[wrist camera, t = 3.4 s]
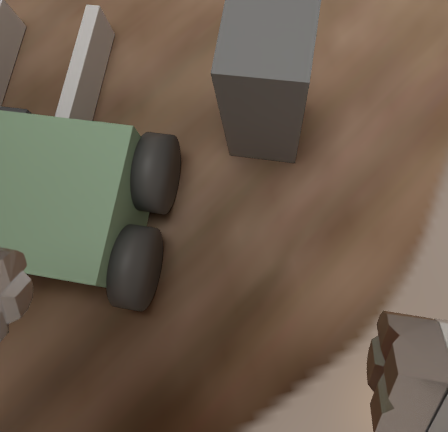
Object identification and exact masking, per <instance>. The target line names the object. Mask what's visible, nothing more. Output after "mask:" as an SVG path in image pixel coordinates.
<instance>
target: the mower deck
mask: <svg viewBox="0 0 448 432" xmlns="http://www.w3.org/2000/svg"><path fill="white" fill-rule="evenodd" d="M25 29H26V25H25V24H24V23H23V22H22V21H21V19H20V18H19V17H18V16H17V15H16V13H15V12H14V11H13V10H12V9H11V7H10V6H9V5H8V4H7V3H6V1H5V0H0V247H2V248H8V249H13V250H18V251H20V252H22V253H24V256H25V259H26V262H27V266H26V268H25V269H24V272H25V273H26V274H31V275H37V276H43V277H48V278H54V279H60V280H65V281H71V282H77V283H83V284H88V285H94V286H100V287H105V288H106V289H107V296H108V300H109V302H110V304H111V305H112V306H114V307H119V308H125V309H130V310H136V311H144V310H145V309H146V308H147V307H148V306H149V304H150V302H151V300H152V298H153V296H154V294H155V291H156V288H157V285H158V281H159V277H160V272H161V267H162V259H163V240H162V235H161V232H160V230H159V229H158V228H153V227H147V222H148V217H149V213H150V212H152V213H159V214H167V213H168V212H169V210H170V209H171V207H172V205H173V203H174V200H175V197H176V193H177V189H178V184H179V177H180V166H181V155H180V146H179V142H178V139H177V137H176V136H175V135H169V134H160V133H152V132H146V133H144V134H143V135H142V137H141V136H140V135H139V133H138V132H137V131H136V129H135V128H134V126H130V125H122V124H113V123H105V122H96V121H92V120H93V116H94V112H95V109H96V105H97V101H98V97H99V93H100V89H101V86H102V82H103V78H104V74H105V70H106V66H107V63H108V59H109V55H110V51H111V47H112V43H113V40H114V36H115V33H114V31H113V29H112V28H111V26H110V24H109V22H108V20H107V18H106V16H105V15H104V13H103V11H102V9H101V7H100V6H96V5H86V8H85V12H84V15H83V19H82V22H81V26H80V29H79V33H78V36H77V40H76V43H75V47H74V50H73V54H72V58H71V61H70V65H69V68H68V72H67V75H66V79H65V82H64V86H63V89H62V93H61V96H60V100H59V104H58V107H57V111H56V114H55V117H54V116H45V115H37V114H32V113H30V112H29V111H28V110H27V109H19V108H10V107H1V105H2V102H3V99H4V96H5V93H6V89H7V86H8V83H9V80H10V77H11V74H12V70H13V67H14V64H15V61H16V58H17V54H18V51H19V48H20V45H21V42H22V39H23V35H24V32H25Z"/></svg>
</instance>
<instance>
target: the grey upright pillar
mask: <svg viewBox="0 0 448 432" xmlns="http://www.w3.org/2000/svg"><path fill="white" fill-rule="evenodd" d="M320 4H321V0H225V4H224V9H223V14H222V19H221V24H220V29H219V34H218V39H217V44H216V49H215V54H214V59H213V64H212V70H211V77H212V81H213V85H214V89H215V94H216V98H217V102H218V107H219V111H220V115H221V119H222V124H223V128H224V132H225V136H226V141H227V145H228V149H229V154H230V155H232V156H240V157H248V158H256V159H265V160H273V161H281V162H289V163H295V160H296V155H297V149H298V144H299V138H300V133H301V127H302V122H303V116H304V111H305V105H306V100H307V94H308V89H309V83H310V76H311V69H312V61H313V54H314V47H315V40H316V33H317V25H318V18H319V11H320Z"/></svg>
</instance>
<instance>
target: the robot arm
mask: <svg viewBox="0 0 448 432" xmlns="http://www.w3.org/2000/svg"><path fill="white" fill-rule="evenodd" d="M26 266H27V262H26V259H25V256H24V253H22V252H20V251H18V250H13V249H8V248H2V247H0V342H1V341H2V339H3V338H4V337H5V336H6V335H7V334H8V332H9V323H12V322H14V321H16V320H18V319H20V318H21V317H22V316H23V315H24V313H25V312H26V311H27V310H28V308H29V306H30V303H31V301H32V298H33V284H32V280H31V279H30V278H29V276H28V275H27V274H26V273H25V272H24V269H25V268H26ZM377 329H378V336H377V337H375V338H373V339H372V341H371V344H370V347H369V351H368V358H367V380H368V385H369V386H370V388H371V389H372V390H373V391H374V394H373V397H372V400H371V403H370V407H371V415H372V424H373V431H374V432H448V321H447V320H440V319H431V318H426V317H419V316H412V315H406V314H400V313H394V312H388V311H383V312H382V313H381V315H380V317H379V319H378V322H377Z"/></svg>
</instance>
